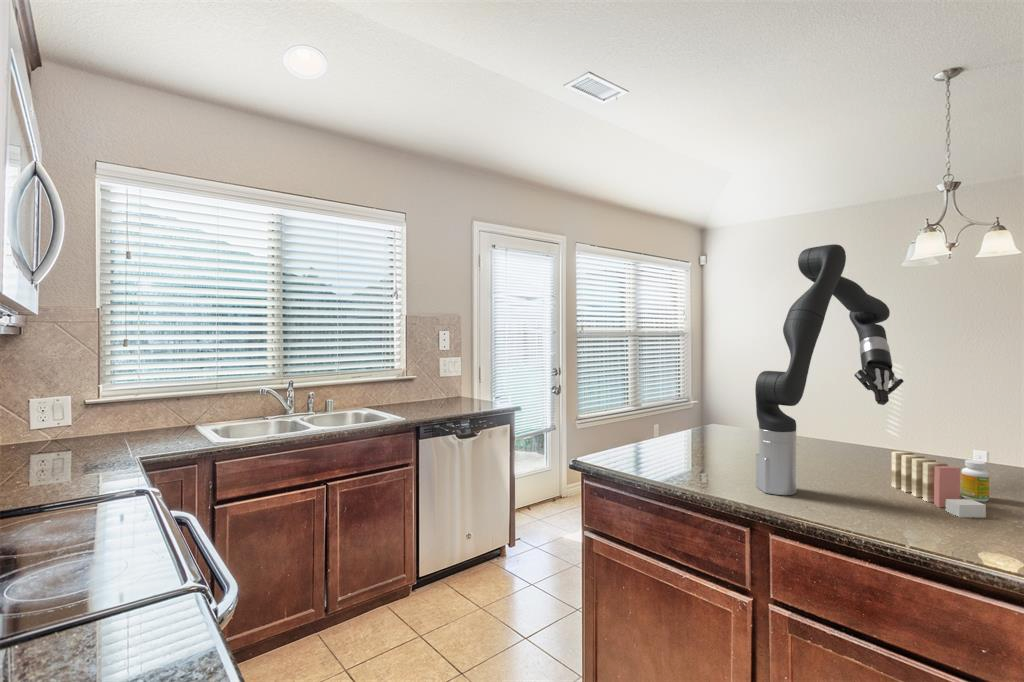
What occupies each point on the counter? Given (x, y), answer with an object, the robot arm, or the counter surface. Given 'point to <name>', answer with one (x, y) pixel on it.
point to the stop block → (966, 508)
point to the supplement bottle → (975, 481)
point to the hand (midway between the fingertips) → (882, 403)
